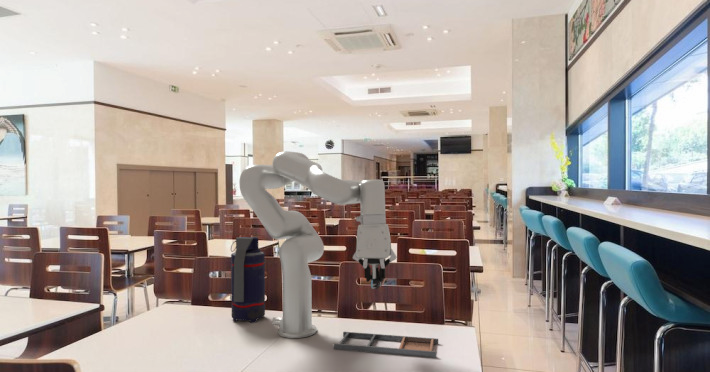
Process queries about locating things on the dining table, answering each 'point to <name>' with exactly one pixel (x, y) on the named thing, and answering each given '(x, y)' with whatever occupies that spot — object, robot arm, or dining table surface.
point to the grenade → (247, 280)
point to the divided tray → (412, 348)
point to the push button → (375, 273)
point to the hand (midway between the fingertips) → (375, 280)
